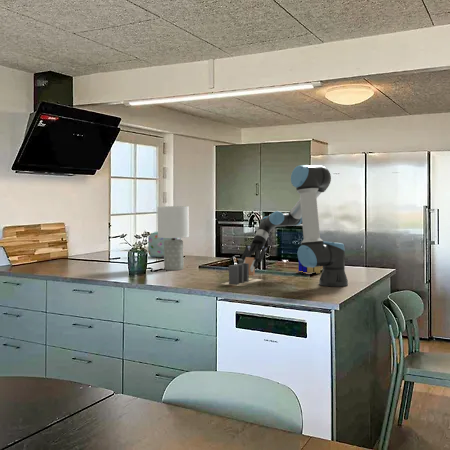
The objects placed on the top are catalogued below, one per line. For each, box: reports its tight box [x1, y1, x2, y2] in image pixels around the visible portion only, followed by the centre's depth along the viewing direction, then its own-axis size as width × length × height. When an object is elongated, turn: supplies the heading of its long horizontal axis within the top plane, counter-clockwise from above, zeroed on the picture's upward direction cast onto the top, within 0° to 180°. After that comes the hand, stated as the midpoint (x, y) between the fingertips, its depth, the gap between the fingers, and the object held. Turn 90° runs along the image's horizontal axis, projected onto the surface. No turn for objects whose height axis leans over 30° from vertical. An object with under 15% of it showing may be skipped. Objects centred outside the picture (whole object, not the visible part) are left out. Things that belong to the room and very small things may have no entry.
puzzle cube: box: [298, 260, 321, 275], centre depth 328 cm, size 10×10×10 cm
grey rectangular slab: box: [233, 263, 244, 283], centre depth 290 cm, size 2×5×10 cm, turn 58°
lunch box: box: [147, 231, 182, 259], centre depth 419 cm, size 27×10×21 cm, turn 74°
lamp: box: [156, 205, 190, 271], centre depth 349 cm, size 21×21×42 cm
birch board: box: [220, 278, 264, 287], centre depth 293 cm, size 14×25×1 cm, turn 149°
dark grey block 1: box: [228, 264, 239, 285], centre depth 285 cm, size 2×5×10 cm, turn 59°
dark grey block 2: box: [238, 262, 250, 282], centre depth 294 cm, size 2×5×10 cm, turn 58°
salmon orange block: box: [245, 256, 256, 276], centre depth 301 cm, size 2×5×10 cm, turn 58°
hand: (246, 270), depth 298 cm, fingers closed on salmon orange block, 5 cm apart
